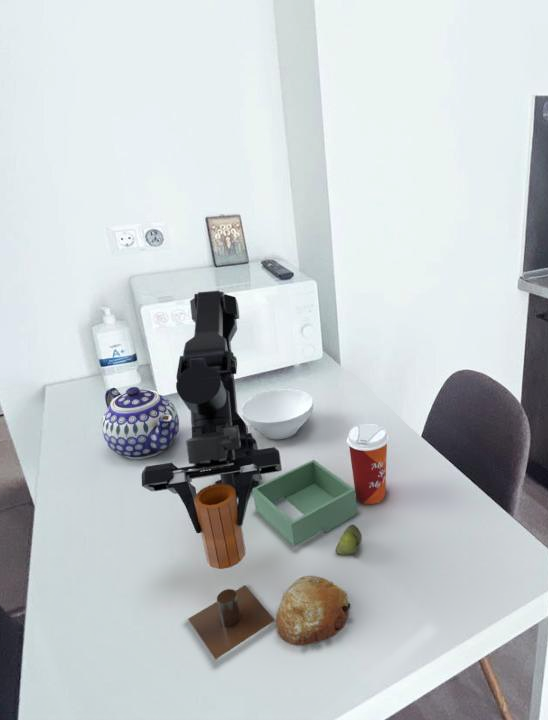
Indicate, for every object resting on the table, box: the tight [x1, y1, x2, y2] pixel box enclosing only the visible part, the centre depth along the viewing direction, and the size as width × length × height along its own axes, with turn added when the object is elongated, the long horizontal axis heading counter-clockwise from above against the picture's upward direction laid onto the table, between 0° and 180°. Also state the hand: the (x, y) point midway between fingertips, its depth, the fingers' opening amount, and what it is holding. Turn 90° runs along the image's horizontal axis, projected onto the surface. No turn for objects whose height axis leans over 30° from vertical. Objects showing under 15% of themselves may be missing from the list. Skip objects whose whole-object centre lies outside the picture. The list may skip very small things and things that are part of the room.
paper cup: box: [346, 423, 390, 505], centre depth 102 cm, size 8×8×14 cm
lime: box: [335, 523, 363, 556], centre depth 90 cm, size 4×5×5 cm
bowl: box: [241, 388, 314, 440], centre depth 125 cm, size 16×16×7 cm
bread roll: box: [275, 575, 351, 646], centre depth 78 cm, size 10×10×8 cm
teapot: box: [101, 386, 180, 460], centre depth 118 cm, size 25×15×15 cm, turn 53°
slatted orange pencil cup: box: [194, 483, 246, 570], centre depth 79 cm, size 5×5×11 cm
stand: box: [187, 584, 276, 661], centre depth 77 cm, size 9×9×6 cm
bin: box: [252, 459, 358, 547], centre depth 99 cm, size 13×13×6 cm
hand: (219, 529), depth 77 cm, fingers closed on slatted orange pencil cup, 5 cm apart
